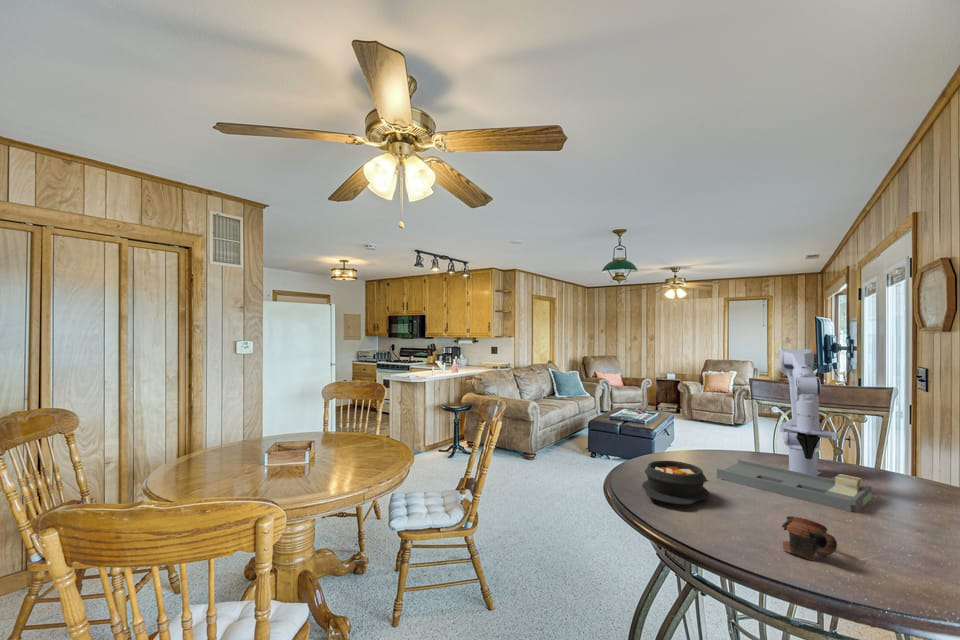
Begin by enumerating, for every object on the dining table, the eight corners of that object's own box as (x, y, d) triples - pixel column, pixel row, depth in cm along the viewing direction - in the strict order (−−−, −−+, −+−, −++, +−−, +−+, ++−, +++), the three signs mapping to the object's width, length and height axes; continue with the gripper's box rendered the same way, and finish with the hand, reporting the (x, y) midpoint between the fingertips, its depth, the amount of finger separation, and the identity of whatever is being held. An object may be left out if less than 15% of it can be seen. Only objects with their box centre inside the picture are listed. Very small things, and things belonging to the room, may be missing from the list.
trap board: (739, 468, 156) (739, 458, 156) (871, 497, 127) (871, 485, 128) (717, 478, 145) (716, 467, 145) (855, 513, 117) (855, 500, 117)
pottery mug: (768, 547, 99) (773, 511, 102) (801, 563, 100) (805, 527, 103) (819, 559, 88) (822, 518, 91) (856, 577, 89) (858, 535, 92)
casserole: (704, 517, 114) (704, 485, 115) (632, 502, 125) (632, 472, 125) (713, 489, 135) (713, 462, 135) (651, 478, 145) (651, 453, 146)
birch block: (840, 487, 131) (839, 473, 131) (861, 491, 127) (861, 478, 127) (835, 490, 128) (834, 477, 128) (857, 495, 124) (856, 481, 124)
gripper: (776, 413, 139) (777, 455, 139) (833, 420, 128) (834, 466, 127) (784, 410, 144) (785, 451, 143) (839, 417, 132) (840, 462, 132)
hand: (808, 458), depth 136 cm, fingers closed
